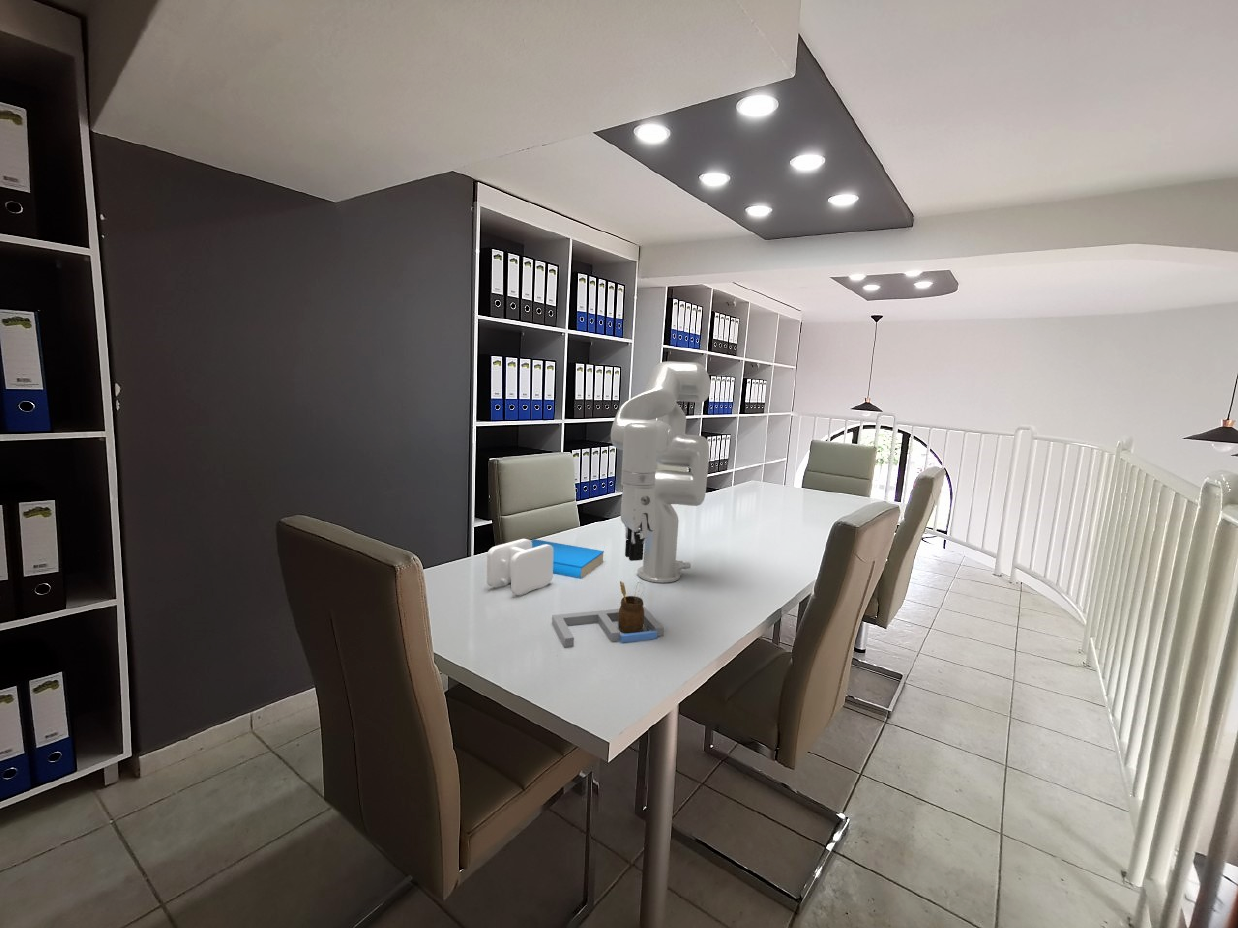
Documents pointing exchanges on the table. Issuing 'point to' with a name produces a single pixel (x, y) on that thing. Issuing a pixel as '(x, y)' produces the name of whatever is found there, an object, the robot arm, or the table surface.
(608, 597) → the table surface
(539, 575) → the cable organizer
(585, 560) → the book
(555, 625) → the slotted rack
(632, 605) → the utensil holder
